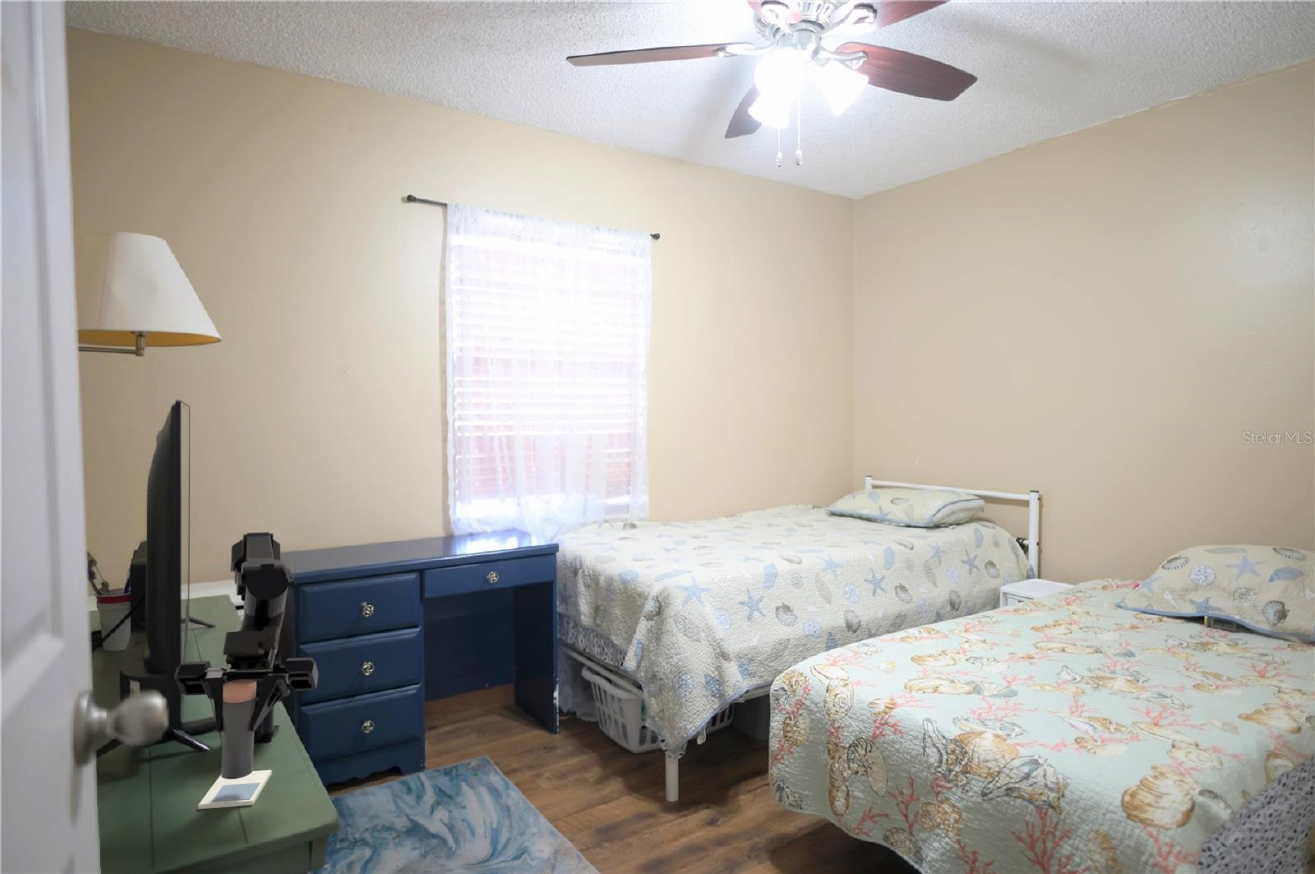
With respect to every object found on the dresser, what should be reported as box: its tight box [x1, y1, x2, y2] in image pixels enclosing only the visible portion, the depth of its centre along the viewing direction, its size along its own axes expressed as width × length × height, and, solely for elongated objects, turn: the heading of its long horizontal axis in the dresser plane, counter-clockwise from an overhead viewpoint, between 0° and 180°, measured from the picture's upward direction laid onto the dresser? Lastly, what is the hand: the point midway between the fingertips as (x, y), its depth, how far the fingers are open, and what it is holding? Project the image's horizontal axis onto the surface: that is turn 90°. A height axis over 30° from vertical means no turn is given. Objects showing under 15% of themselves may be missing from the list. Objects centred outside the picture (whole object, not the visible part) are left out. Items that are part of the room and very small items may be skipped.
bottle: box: [220, 679, 256, 779], centre depth 109 cm, size 4×4×13 cm
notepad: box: [197, 769, 273, 810], centre depth 111 cm, size 10×7×1 cm
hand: (235, 731), depth 108 cm, fingers closed on bottle, 4 cm apart
